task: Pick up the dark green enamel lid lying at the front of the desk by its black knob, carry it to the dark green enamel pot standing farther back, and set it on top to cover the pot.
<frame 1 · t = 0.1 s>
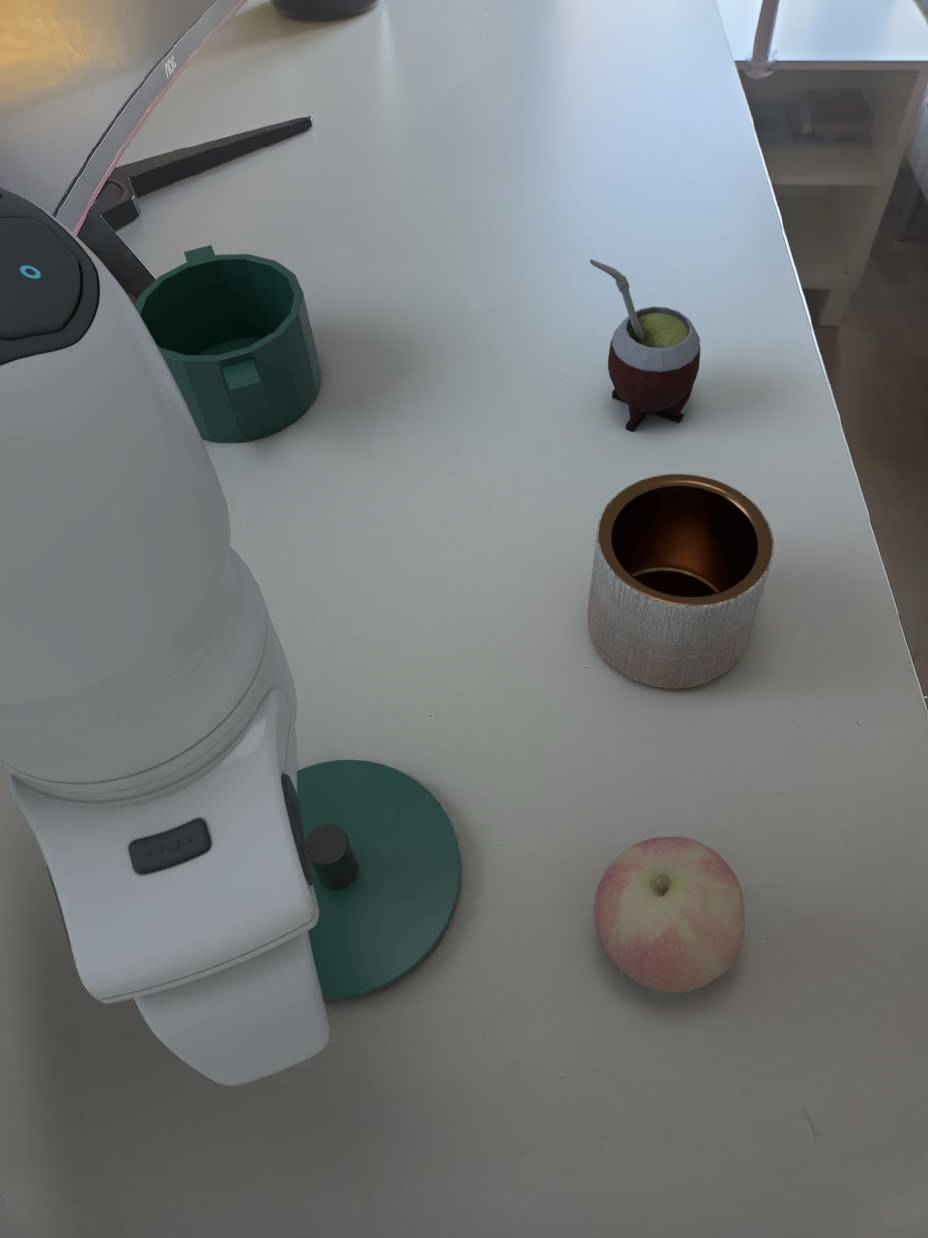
hand: (251, 859, 42), 16 cm above the table, tool pointing down, fingers open, 8 cm apart
lid: (339, 873, 57), point 1 cm above the table
apple: (660, 938, 54), on the table
pot: (243, 387, 83), on the table
mate gourd: (641, 411, 79), on the table
planter: (665, 627, 66), on the table
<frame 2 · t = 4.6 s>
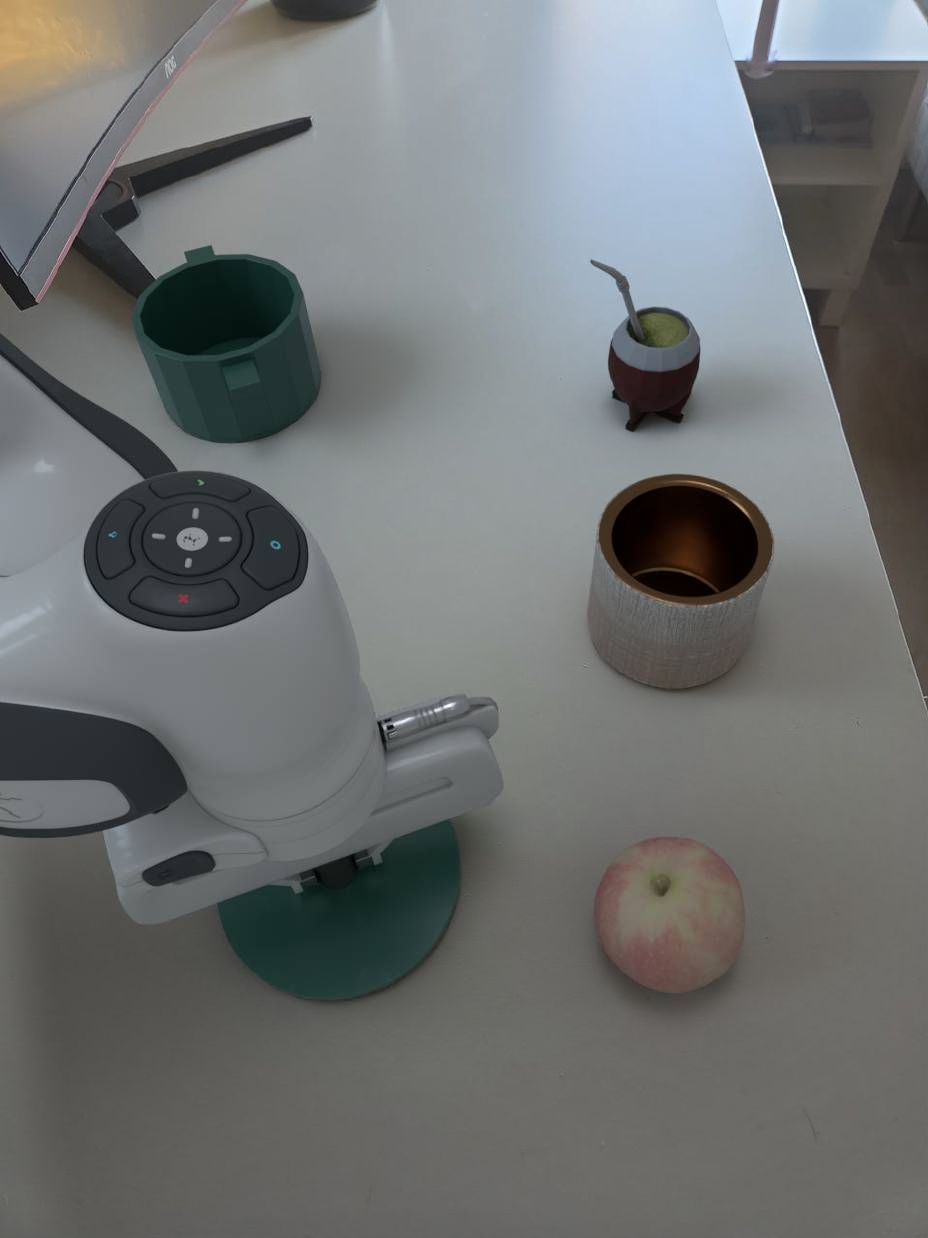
hand: (336, 866, 56), 2 cm above the table, tool pointing down, fingers closed on lid, 2 cm apart
lid: (339, 873, 57), point 1 cm above the table, touching gripper
everything else where it was.
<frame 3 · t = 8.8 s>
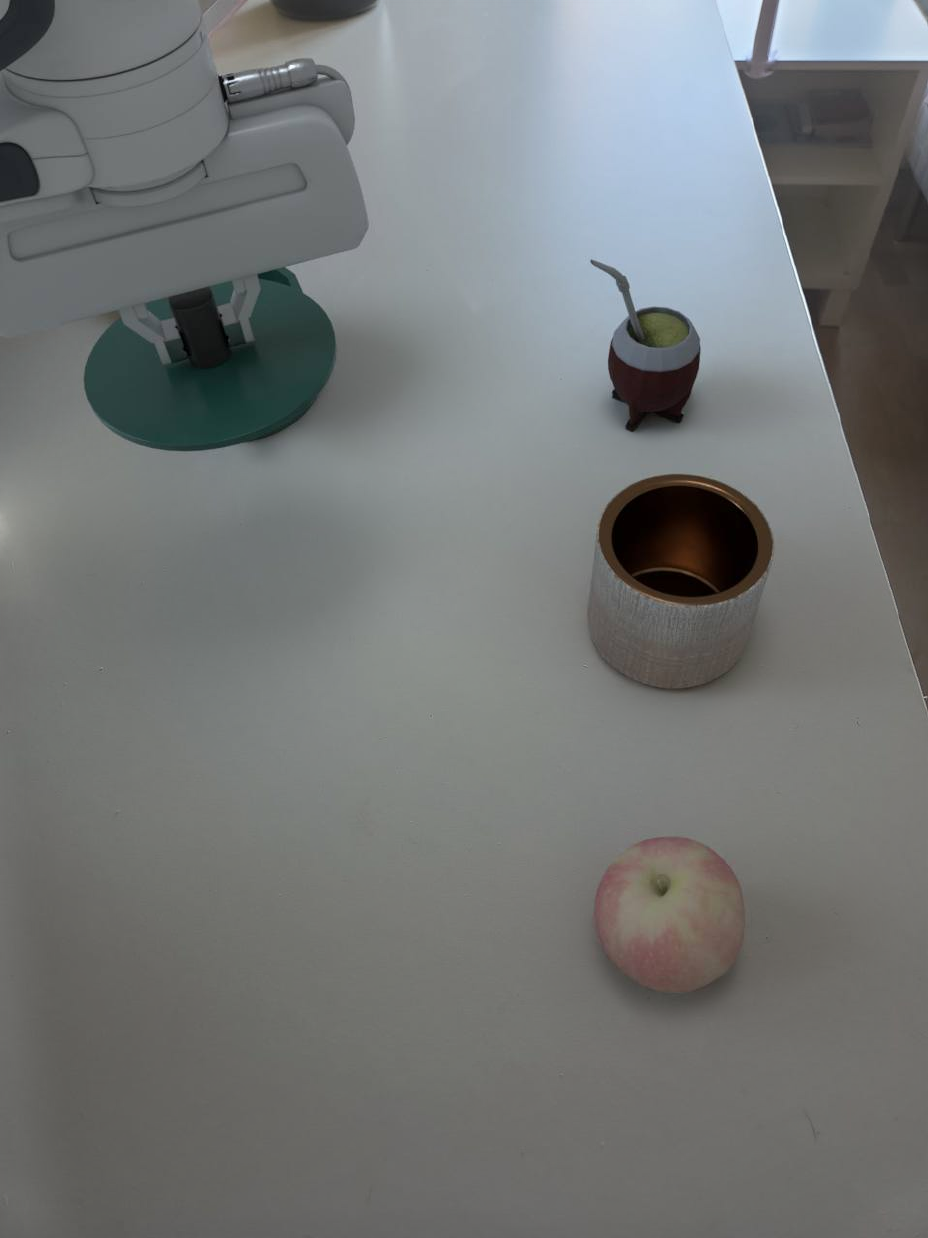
hand: (207, 347, 54), 20 cm above the table, tool pointing down, fingers closed on lid, 2 cm apart
lid: (212, 361, 55), point 19 cm above the table, touching gripper
everything else where it was.
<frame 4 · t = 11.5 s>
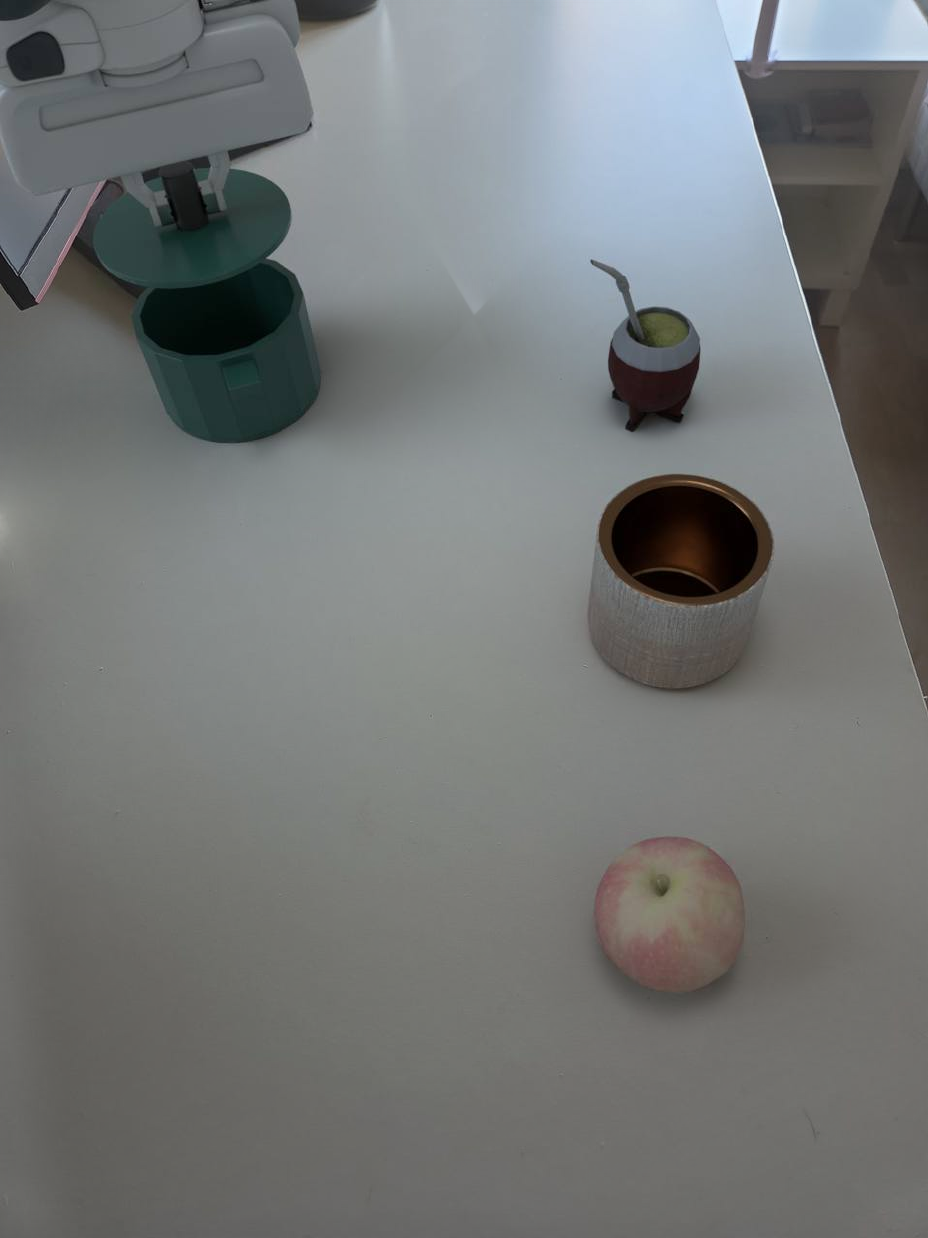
hand: (189, 215, 70), 16 cm above the table, tool pointing down, fingers closed on lid, 2 cm apart
lid: (194, 227, 70), point 15 cm above the table, touching gripper
everything else where it was.
when the fingers open (9 cm above the table, at t = 13.3 s): lid stays where it is, resting on pot.
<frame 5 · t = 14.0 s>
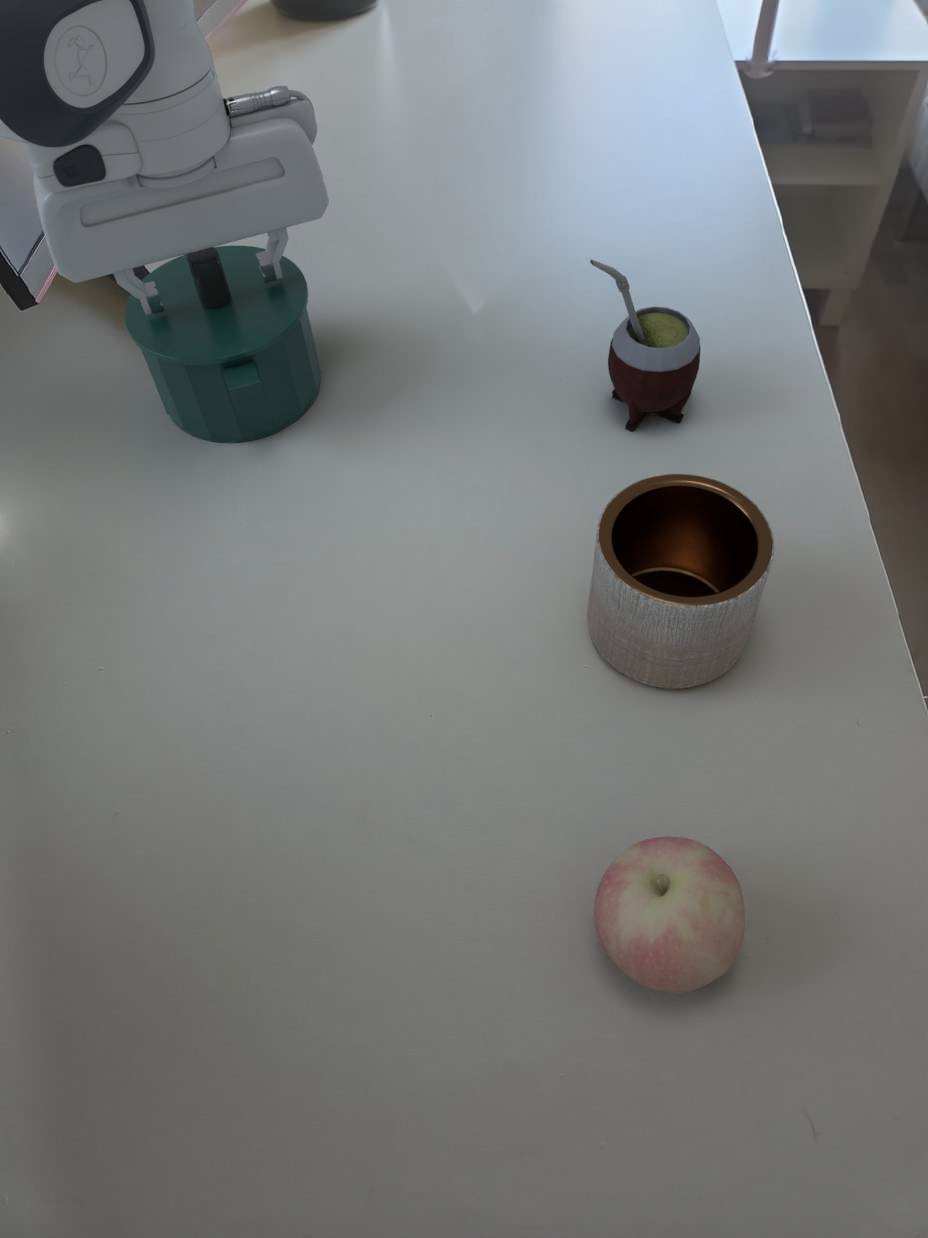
hand: (213, 292, 75), 10 cm above the table, tool pointing down, fingers open, 8 cm apart
lid: (217, 304, 76), point 8 cm above the table, touching pot
everything else where it was.
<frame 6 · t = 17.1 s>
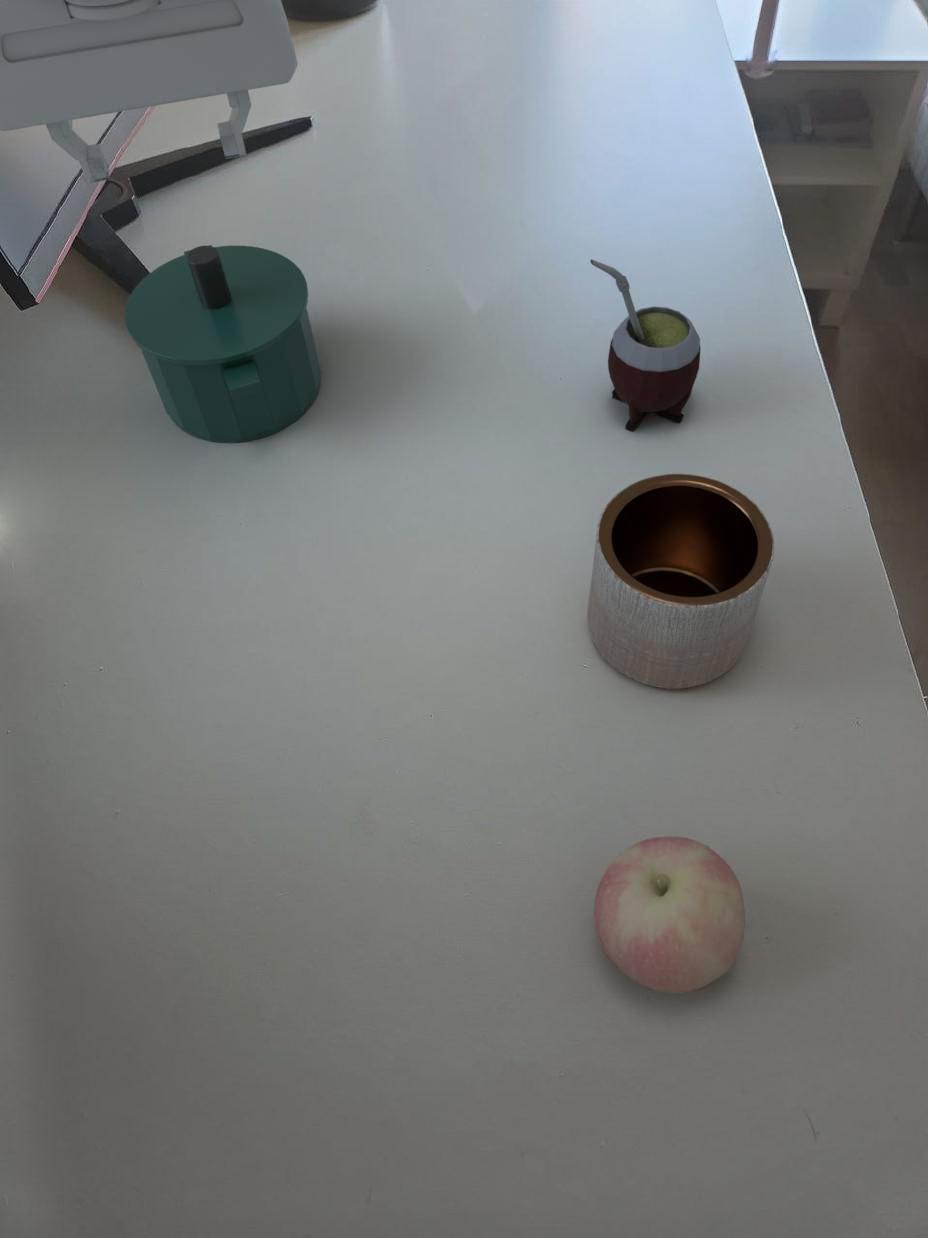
hand: (167, 164, 66), 20 cm above the table, tool pointing down, fingers open, 8 cm apart
nothing on the table moved.
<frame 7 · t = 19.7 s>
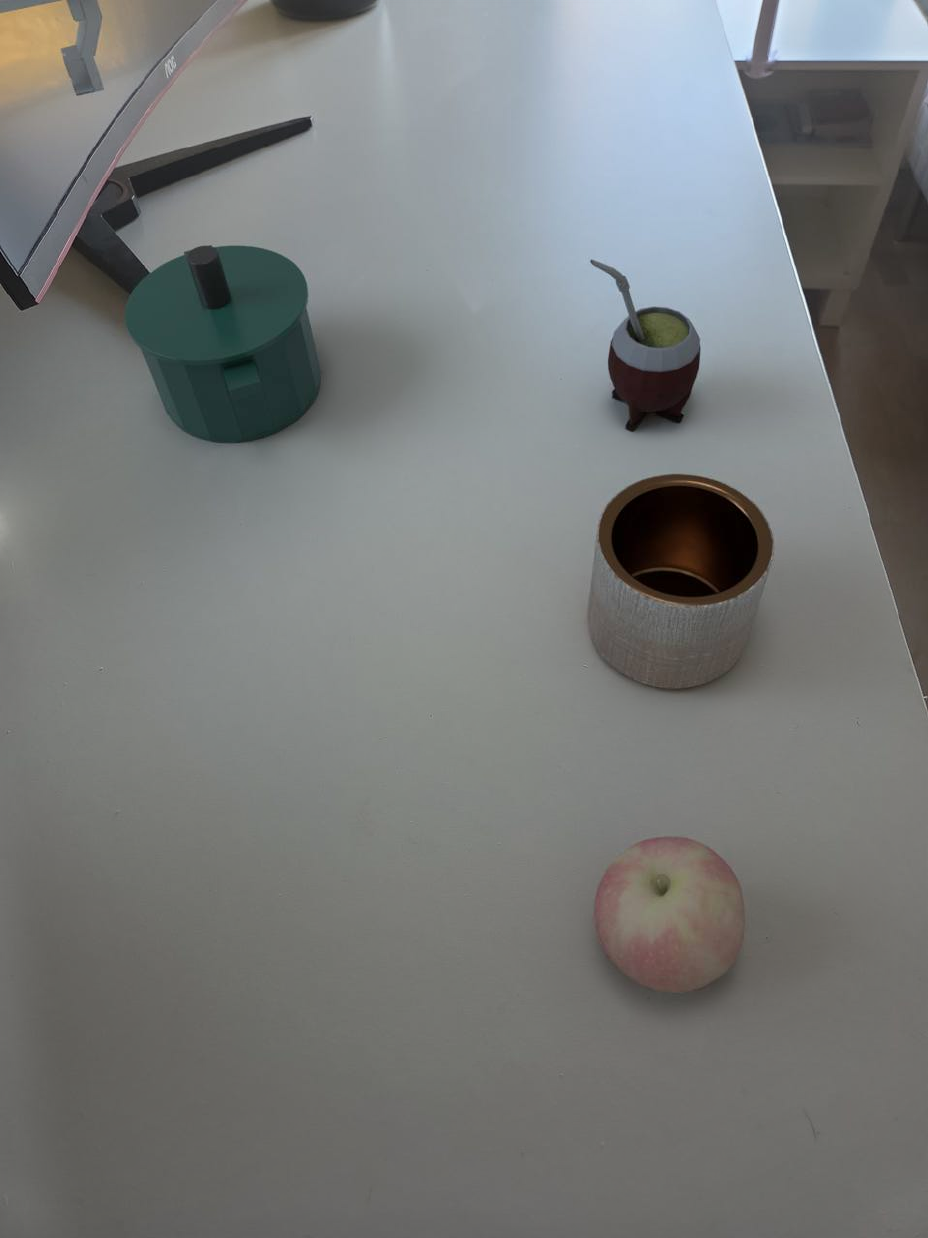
nothing on the table moved.
at the end: lid 0.0 cm off-centre on the pot, point 8.5 cm above the pot's base; lid tilted 0° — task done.
